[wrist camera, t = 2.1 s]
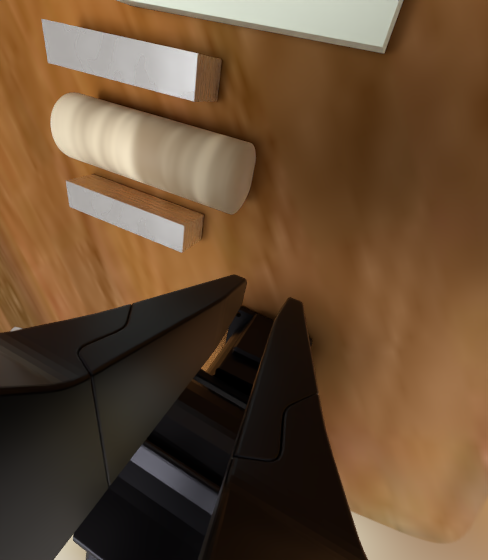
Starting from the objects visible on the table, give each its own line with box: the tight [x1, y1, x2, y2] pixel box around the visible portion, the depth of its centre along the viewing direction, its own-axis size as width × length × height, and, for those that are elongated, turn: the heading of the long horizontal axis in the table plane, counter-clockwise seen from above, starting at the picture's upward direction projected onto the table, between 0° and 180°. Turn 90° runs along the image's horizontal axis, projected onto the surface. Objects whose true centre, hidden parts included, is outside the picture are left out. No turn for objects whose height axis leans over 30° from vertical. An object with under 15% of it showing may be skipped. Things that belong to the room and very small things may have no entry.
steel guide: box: [42, 19, 222, 253], centre depth 20 cm, size 11×10×2 cm
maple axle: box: [51, 93, 256, 214], centre depth 19 cm, size 12×4×4 cm, turn 79°
